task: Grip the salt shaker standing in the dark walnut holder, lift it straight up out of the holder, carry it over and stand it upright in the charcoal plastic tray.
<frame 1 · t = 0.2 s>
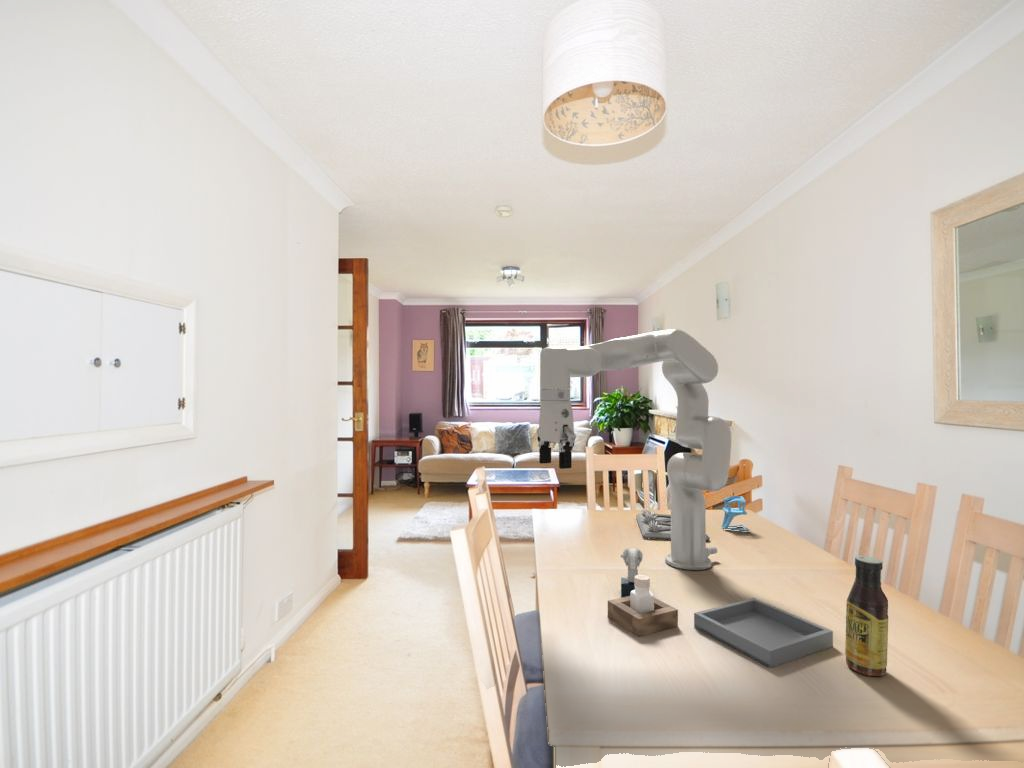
hand: (554, 465, 131), 31 cm above the table, tool pointing down, fingers open, 9 cm apart
chair: (734, 530, 188), on the table
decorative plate: (669, 530, 189), on the table
shaker holder: (642, 621, 113), on the table
salt shaker: (642, 622, 113), resting in shaker holder
sauce bottle: (866, 670, 94), on the table
watch: (632, 594, 128), on the table
tray: (760, 636, 106), on the table
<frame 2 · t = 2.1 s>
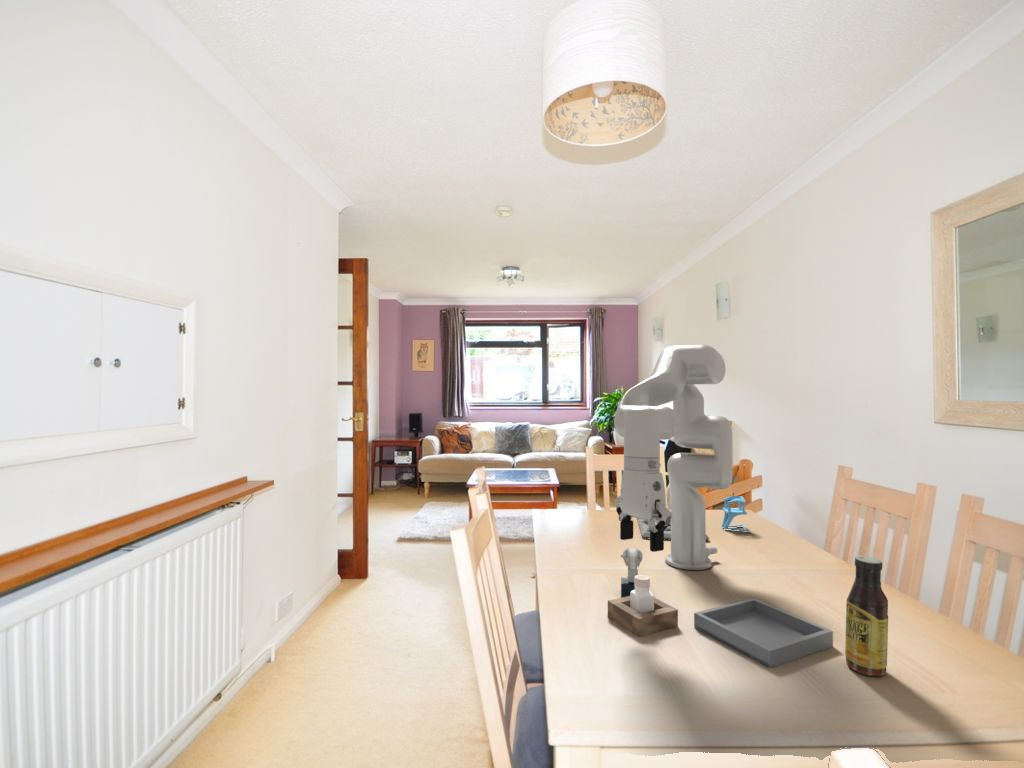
hand: (641, 544, 113), 17 cm above the table, tool pointing down, fingers open, 9 cm apart
nothing on the table moved.
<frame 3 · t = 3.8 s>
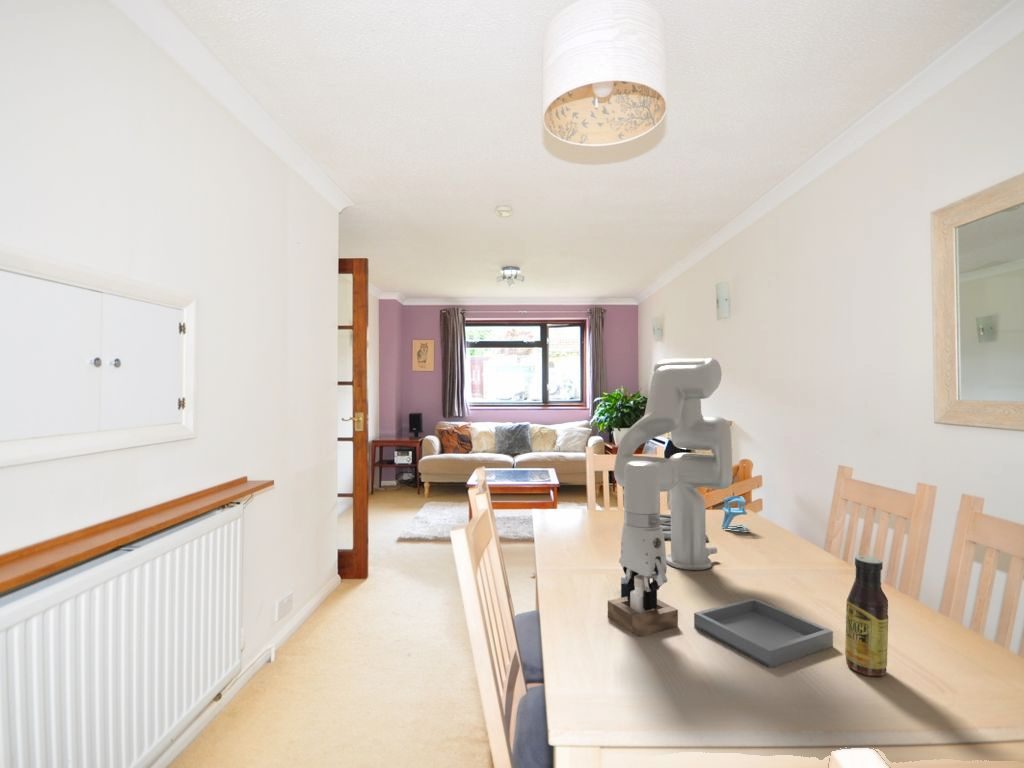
hand: (641, 603, 113), 4 cm above the table, tool pointing down, fingers closed on salt shaker, 4 cm apart
salt shaker: (641, 622, 113), resting in shaker holder, touching gripper
everything else where it was.
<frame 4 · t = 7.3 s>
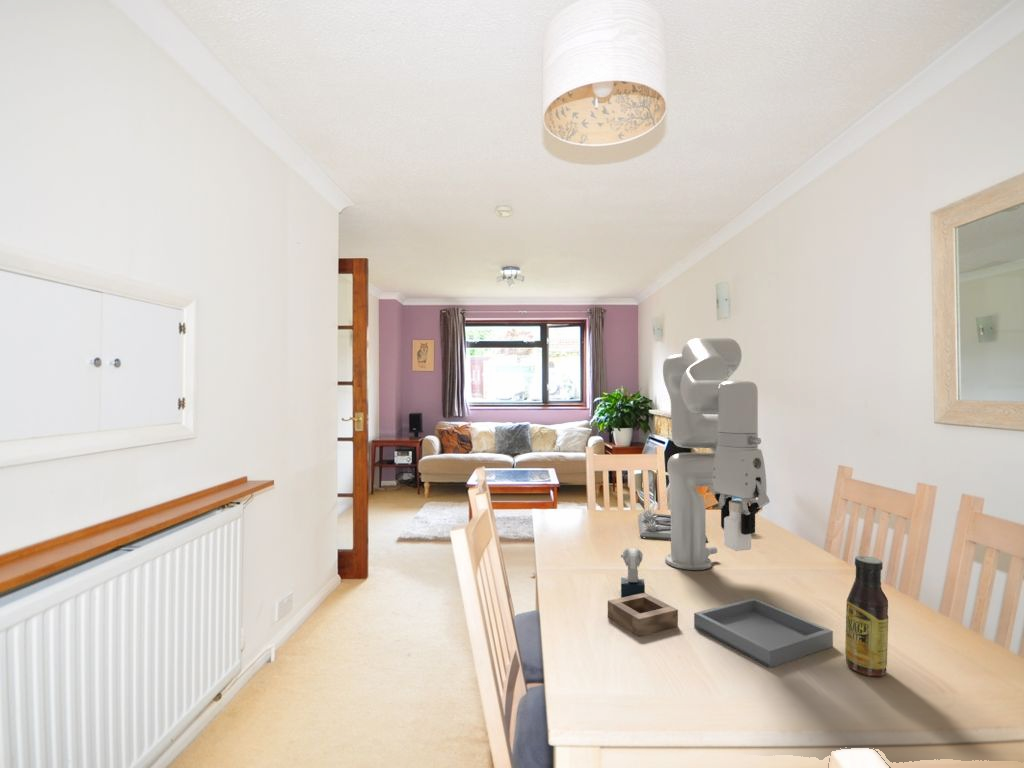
hand: (737, 529, 108), 21 cm above the table, tool pointing down, fingers closed on salt shaker, 4 cm apart
salt shaker: (737, 549, 108), point 17 cm above the table, touching gripper
everything else where it was.
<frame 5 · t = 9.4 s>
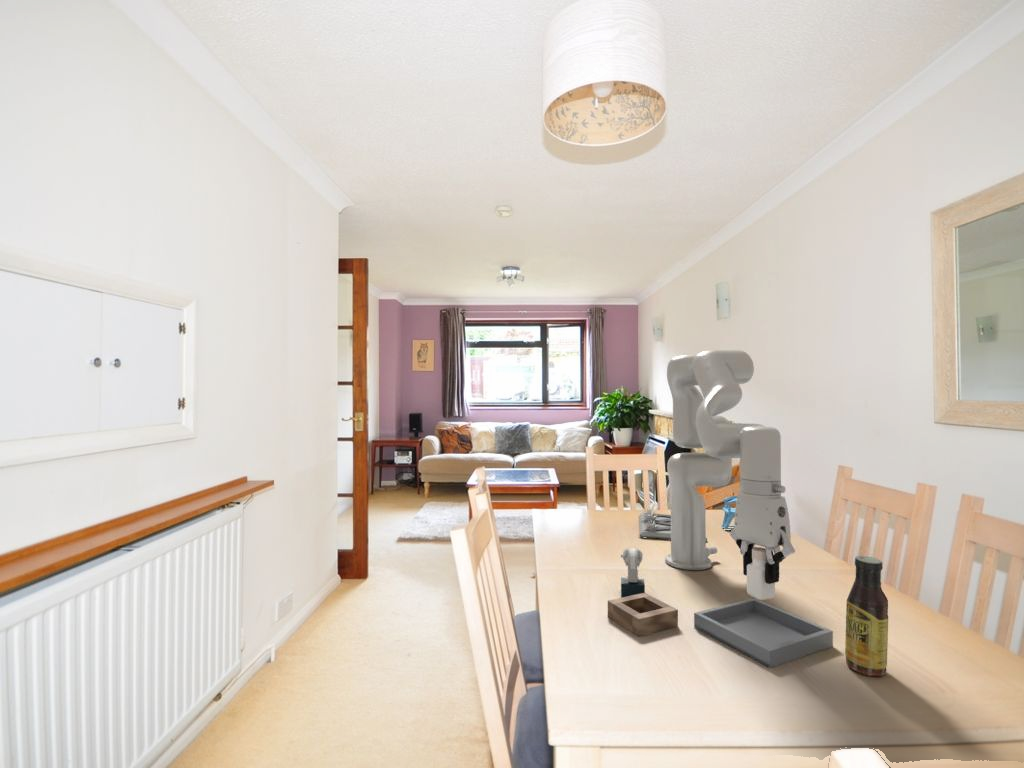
hand: (760, 577, 106), 12 cm above the table, tool pointing down, fingers closed on salt shaker, 4 cm apart
salt shaker: (760, 597, 106), point 8 cm above the table, touching gripper
everything else where it was.
when the fingers open (6 cm above the table, at t = 10.9 s): salt shaker drops 1 cm, resting on tray.
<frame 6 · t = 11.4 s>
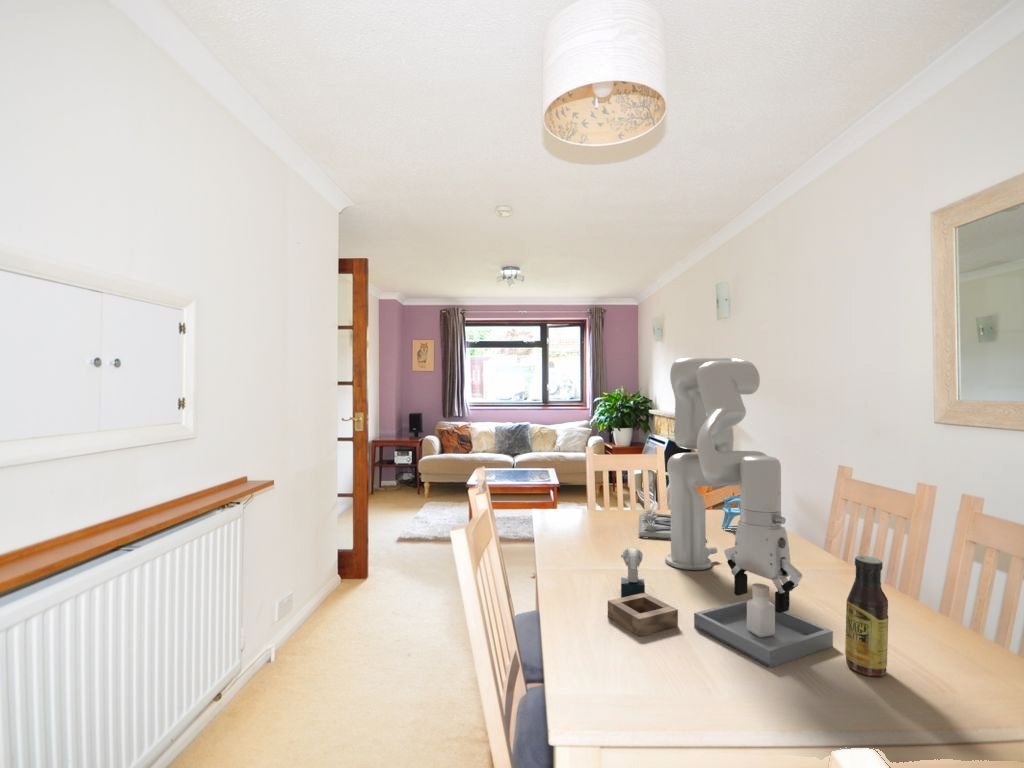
hand: (760, 602, 106), 7 cm above the table, tool pointing down, fingers open, 9 cm apart
salt shaker: (760, 634, 106), resting on tray
everything else where it was.
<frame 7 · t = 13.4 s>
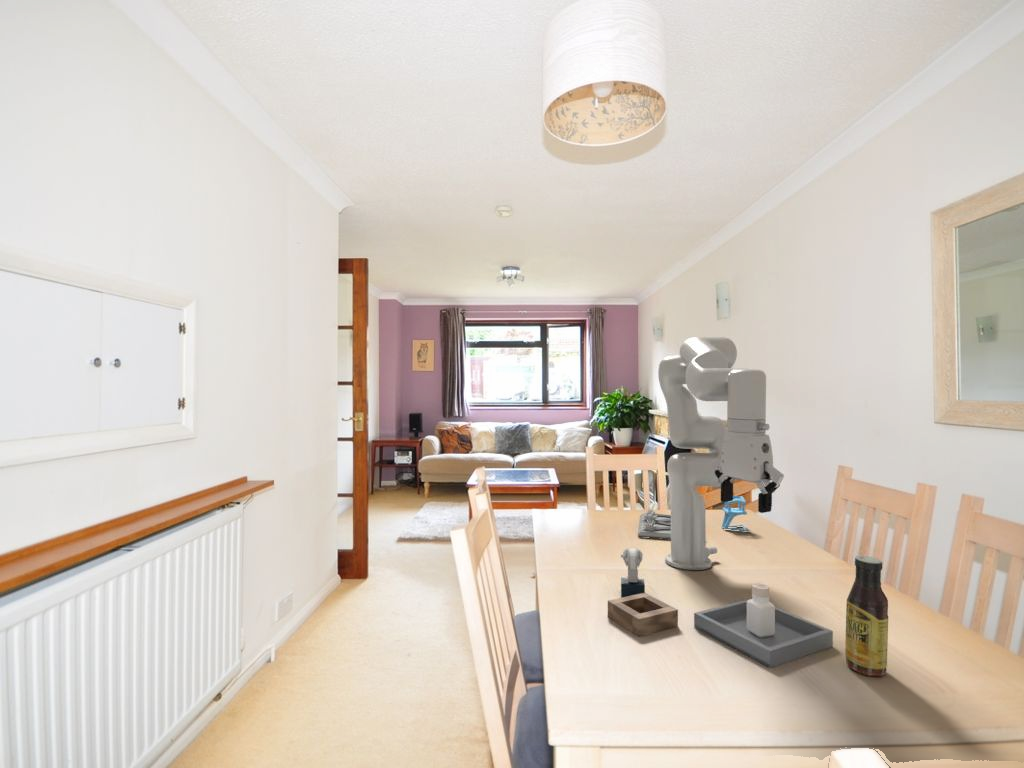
hand: (745, 506, 113), 25 cm above the table, tool pointing down, fingers open, 9 cm apart
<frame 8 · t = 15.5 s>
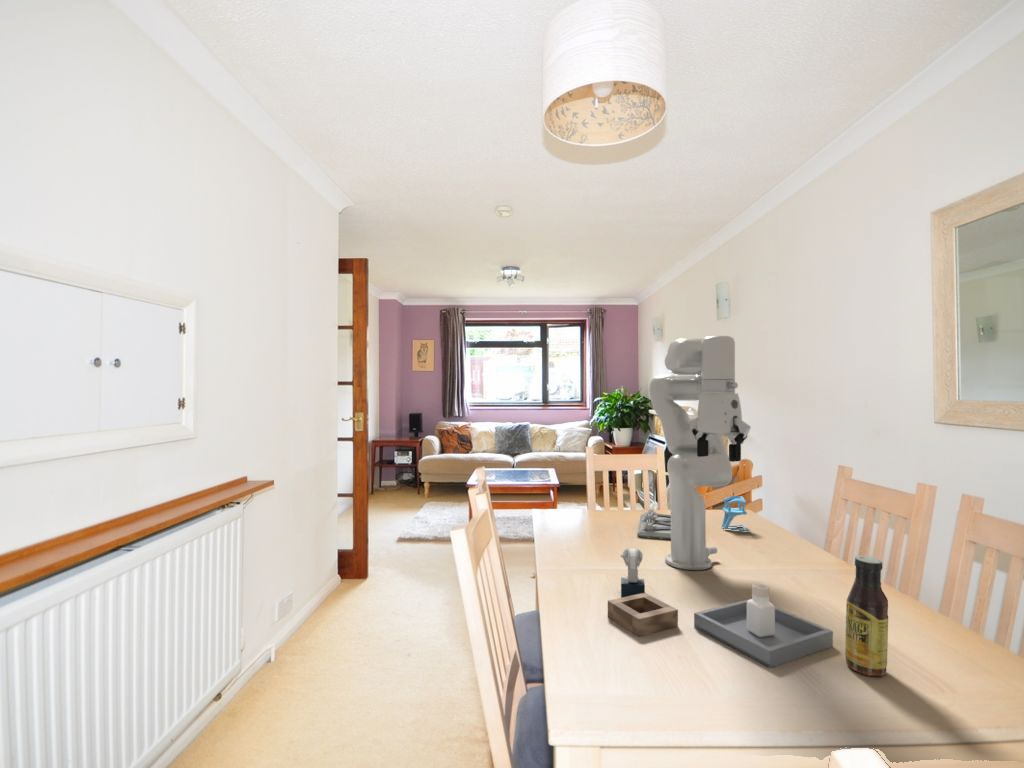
hand: (718, 458, 126), 33 cm above the table, tool pointing down, fingers open, 9 cm apart
at the end: salt shaker inside the target area on the tray (0.1 cm from its centre), point 0.4 cm above the tray's base; salt shaker tilted 0°; the gripper is holding nothing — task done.
